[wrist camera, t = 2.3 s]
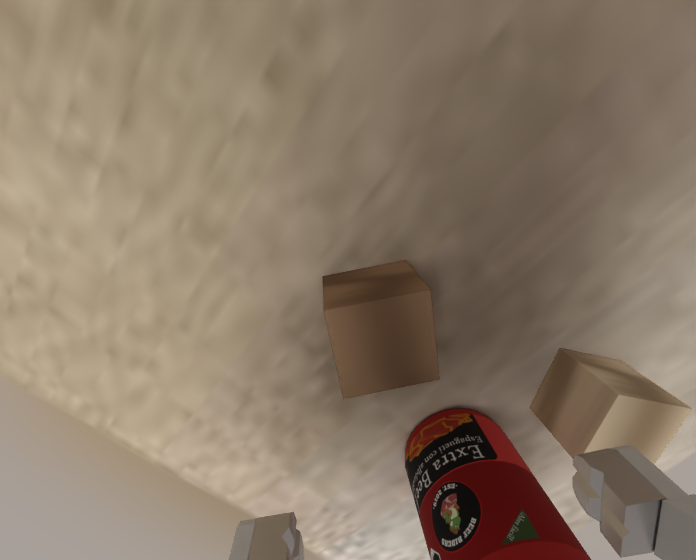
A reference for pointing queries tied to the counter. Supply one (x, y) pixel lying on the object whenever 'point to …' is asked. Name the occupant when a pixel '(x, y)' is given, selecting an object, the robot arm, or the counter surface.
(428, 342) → the walnut block
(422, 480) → the canned food
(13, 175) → the counter surface
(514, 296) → the counter surface
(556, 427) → the oak block
